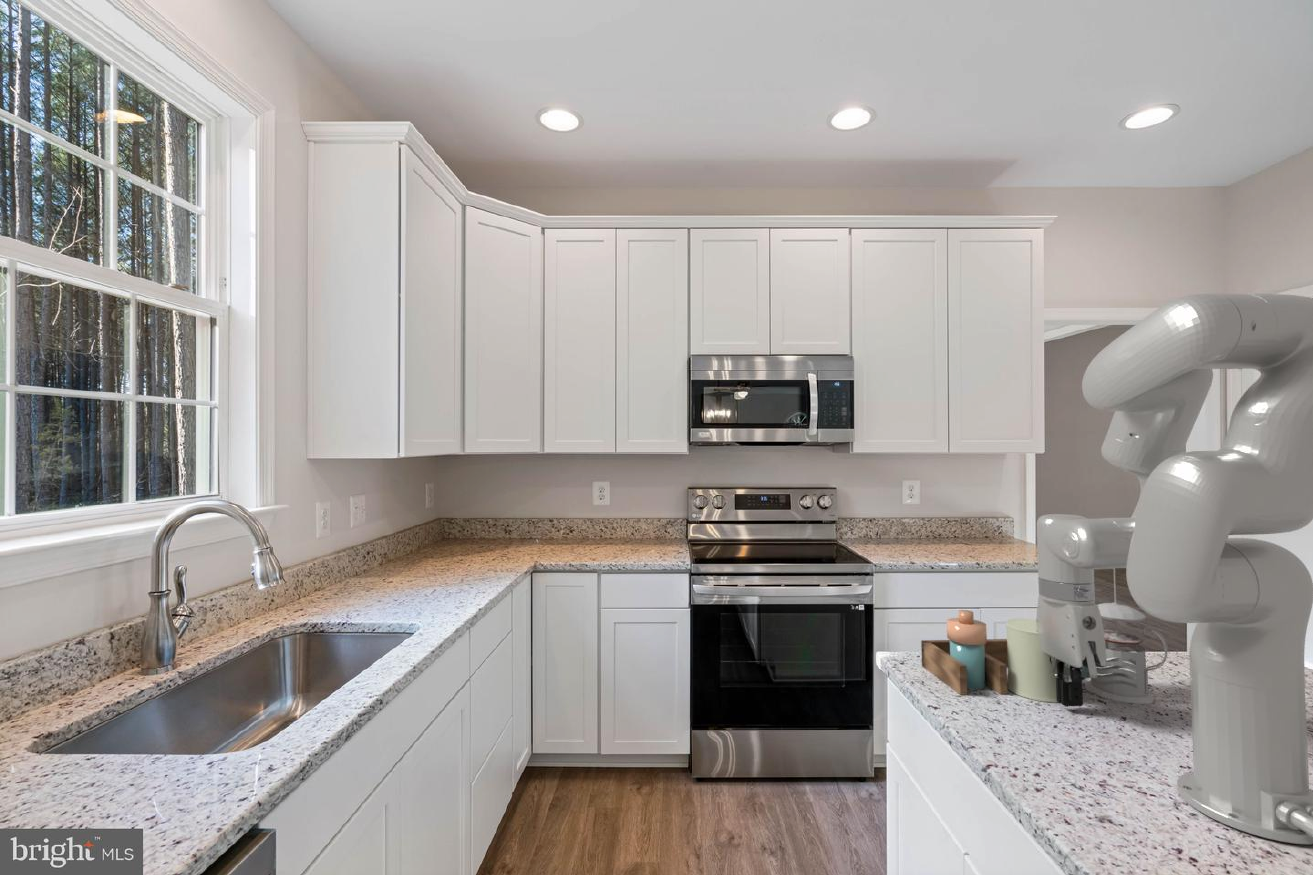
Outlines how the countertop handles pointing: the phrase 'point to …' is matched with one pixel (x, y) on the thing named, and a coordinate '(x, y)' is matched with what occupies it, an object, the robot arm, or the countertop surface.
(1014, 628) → the can
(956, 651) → the jar
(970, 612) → the lid
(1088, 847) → the countertop surface
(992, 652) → the caddy
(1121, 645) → the french press
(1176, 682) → the countertop surface
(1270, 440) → the robot arm
